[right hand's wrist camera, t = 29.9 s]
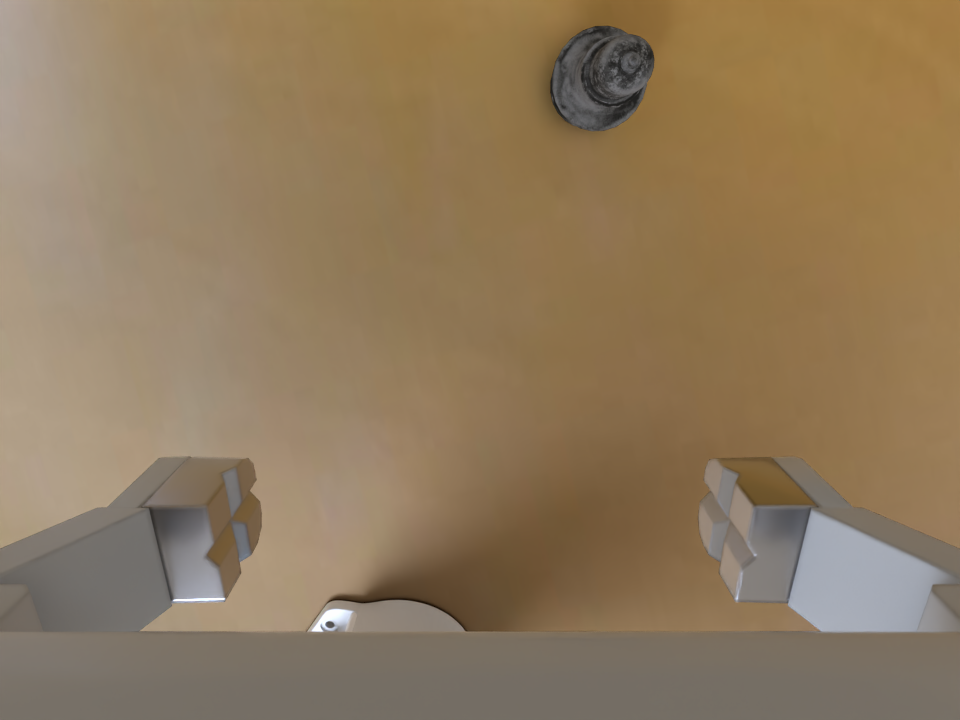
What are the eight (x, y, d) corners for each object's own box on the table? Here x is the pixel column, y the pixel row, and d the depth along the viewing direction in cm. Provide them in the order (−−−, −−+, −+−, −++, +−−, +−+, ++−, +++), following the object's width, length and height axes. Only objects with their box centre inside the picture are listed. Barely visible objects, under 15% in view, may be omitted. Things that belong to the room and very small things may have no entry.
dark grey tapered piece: (540, 45, 38) (567, 1, 26) (630, 28, 37) (695, -23, 26) (551, 139, 40) (579, 135, 28) (635, 124, 39) (698, 115, 28)
